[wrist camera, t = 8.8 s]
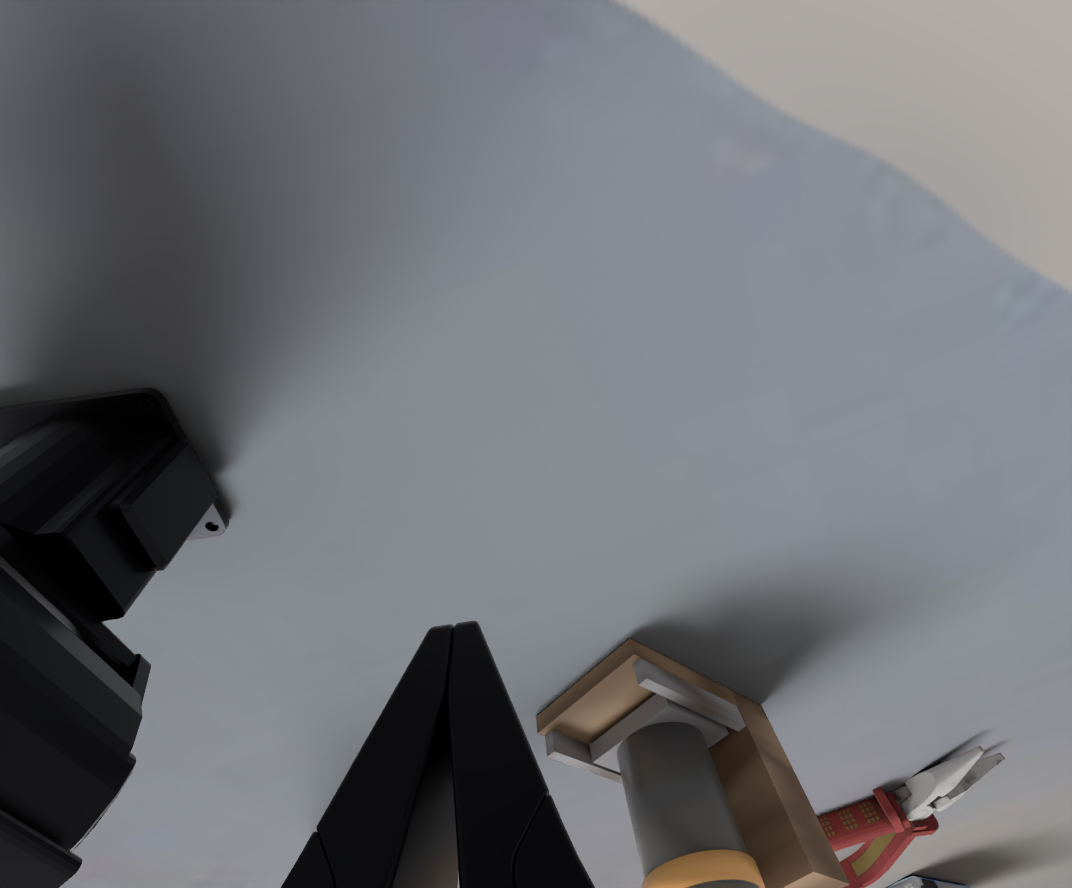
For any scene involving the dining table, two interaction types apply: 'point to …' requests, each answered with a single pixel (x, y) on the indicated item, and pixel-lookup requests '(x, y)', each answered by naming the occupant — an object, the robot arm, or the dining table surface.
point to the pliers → (900, 815)
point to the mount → (740, 757)
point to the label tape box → (923, 883)
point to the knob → (677, 798)
